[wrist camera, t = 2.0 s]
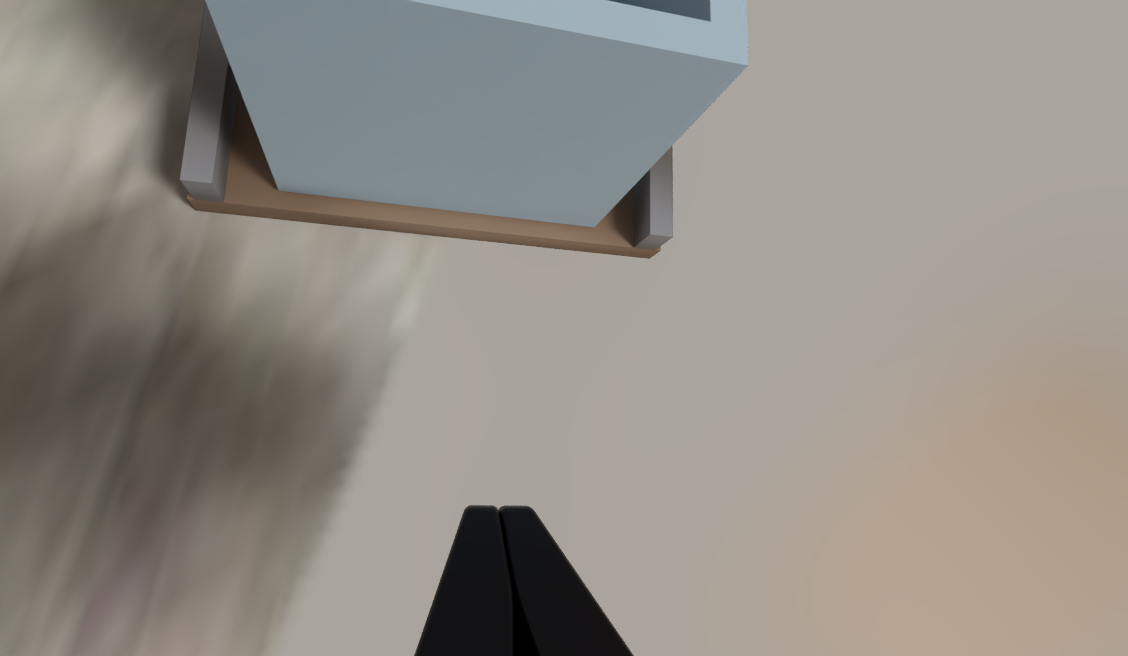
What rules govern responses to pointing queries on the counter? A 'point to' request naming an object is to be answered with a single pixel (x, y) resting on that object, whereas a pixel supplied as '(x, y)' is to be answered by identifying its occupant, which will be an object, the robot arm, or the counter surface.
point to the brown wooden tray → (247, 187)
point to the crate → (478, 96)
